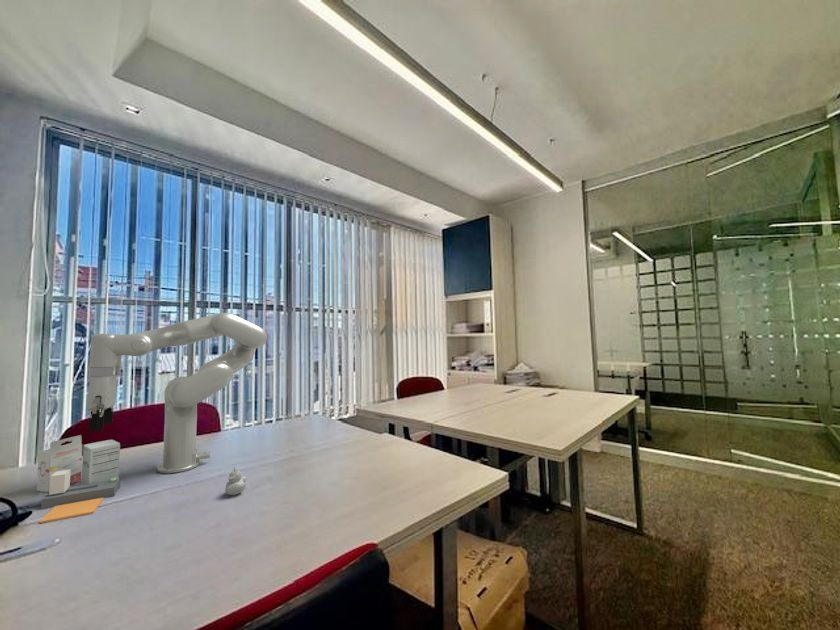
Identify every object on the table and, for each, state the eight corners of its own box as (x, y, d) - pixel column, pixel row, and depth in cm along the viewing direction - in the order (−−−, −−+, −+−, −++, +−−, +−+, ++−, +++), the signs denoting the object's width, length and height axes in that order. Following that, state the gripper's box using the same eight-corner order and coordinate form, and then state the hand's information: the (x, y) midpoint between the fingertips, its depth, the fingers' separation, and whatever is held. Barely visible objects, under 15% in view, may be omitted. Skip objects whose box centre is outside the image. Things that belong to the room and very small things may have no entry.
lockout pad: (103, 499, 98) (103, 497, 98) (93, 513, 90) (93, 511, 90) (54, 508, 93) (54, 506, 93) (39, 523, 85) (39, 521, 85)
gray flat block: (120, 486, 106) (120, 475, 106) (113, 496, 100) (114, 484, 100) (52, 498, 99) (52, 486, 99) (40, 509, 92) (41, 496, 93)
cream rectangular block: (69, 487, 99) (70, 469, 100) (64, 492, 96) (65, 474, 96) (55, 489, 98) (56, 471, 98) (49, 495, 94) (50, 476, 95)
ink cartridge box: (69, 479, 112) (72, 433, 112) (81, 480, 111) (83, 434, 111) (35, 491, 103) (38, 441, 104) (47, 492, 102) (50, 442, 103)
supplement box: (80, 486, 107) (82, 444, 107) (111, 477, 113) (113, 438, 114) (87, 492, 103) (89, 448, 103) (119, 483, 109) (121, 442, 110)
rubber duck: (219, 496, 99) (220, 468, 100) (238, 487, 106) (239, 460, 106) (233, 499, 98) (234, 470, 98) (252, 489, 104) (252, 462, 104)
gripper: (97, 370, 115) (94, 422, 114) (78, 375, 100) (74, 435, 99) (126, 369, 119) (123, 420, 118) (112, 374, 104) (108, 432, 103)
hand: (101, 427), depth 109 cm, fingers open, 9 cm apart
